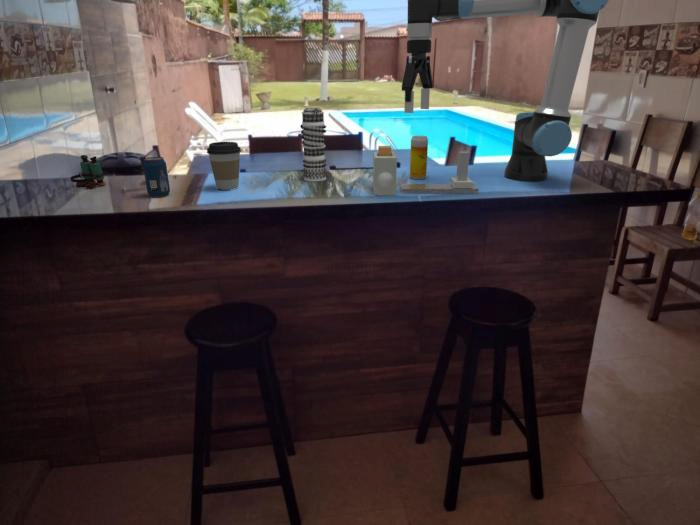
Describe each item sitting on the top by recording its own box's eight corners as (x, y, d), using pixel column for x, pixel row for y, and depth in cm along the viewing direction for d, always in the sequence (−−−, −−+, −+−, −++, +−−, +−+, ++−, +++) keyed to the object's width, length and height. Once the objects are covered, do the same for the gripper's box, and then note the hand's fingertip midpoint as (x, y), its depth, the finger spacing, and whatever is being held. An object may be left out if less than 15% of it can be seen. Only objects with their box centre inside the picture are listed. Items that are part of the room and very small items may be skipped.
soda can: (153, 192, 166) (147, 156, 161) (173, 192, 165) (168, 156, 161) (144, 198, 159) (138, 160, 155) (165, 198, 159) (160, 160, 154)
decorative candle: (318, 182, 178) (316, 109, 169) (297, 179, 183) (294, 108, 173) (332, 177, 185) (331, 107, 176) (312, 175, 190) (309, 106, 180)
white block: (393, 186, 171) (394, 151, 167) (395, 195, 160) (397, 158, 155) (373, 186, 172) (373, 151, 167) (374, 195, 160) (374, 158, 156)
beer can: (425, 180, 181) (427, 137, 175) (408, 179, 182) (410, 137, 176) (426, 176, 186) (428, 135, 181) (410, 175, 188) (411, 135, 182)
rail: (473, 188, 169) (473, 183, 168) (478, 193, 162) (478, 188, 162) (399, 188, 169) (399, 184, 169) (401, 193, 163) (401, 189, 162)
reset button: (390, 161, 164) (390, 145, 162) (391, 163, 160) (391, 147, 159) (378, 161, 164) (378, 145, 162) (378, 163, 161) (379, 147, 159)
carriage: (468, 183, 168) (470, 150, 164) (472, 188, 162) (475, 154, 158) (450, 183, 168) (452, 150, 164) (453, 188, 162) (456, 154, 158)
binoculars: (60, 161, 167) (85, 153, 175) (69, 190, 172) (93, 182, 180) (78, 162, 164) (103, 154, 172) (87, 193, 169) (111, 184, 177)
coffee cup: (229, 182, 179) (224, 140, 173) (251, 186, 173) (247, 142, 167) (203, 189, 170) (198, 144, 164) (226, 193, 164) (221, 147, 158)
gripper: (422, 40, 165) (420, 107, 173) (391, 38, 145) (390, 114, 153) (444, 39, 162) (441, 107, 170) (415, 37, 142) (413, 114, 150)
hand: (417, 111), depth 162 cm, fingers open, 13 cm apart
